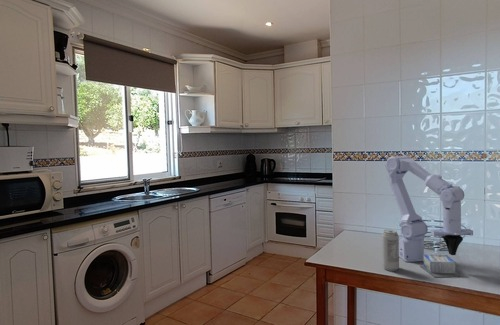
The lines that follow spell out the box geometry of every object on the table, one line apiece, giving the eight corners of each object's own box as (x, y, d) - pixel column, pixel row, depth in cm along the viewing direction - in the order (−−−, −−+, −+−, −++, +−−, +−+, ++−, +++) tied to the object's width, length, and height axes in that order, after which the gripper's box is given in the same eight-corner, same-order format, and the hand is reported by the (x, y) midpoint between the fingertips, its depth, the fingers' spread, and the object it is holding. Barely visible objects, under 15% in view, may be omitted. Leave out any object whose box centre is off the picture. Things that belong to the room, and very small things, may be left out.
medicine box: (455, 262, 119) (430, 261, 121) (455, 274, 119) (430, 272, 121) (447, 254, 127) (423, 254, 128) (447, 266, 127) (423, 265, 129)
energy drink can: (394, 265, 130) (394, 228, 130) (402, 271, 124) (401, 232, 124) (379, 266, 130) (379, 229, 129) (386, 272, 124) (386, 233, 123)
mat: (434, 277, 118) (434, 276, 118) (419, 266, 129) (419, 265, 128) (459, 276, 117) (459, 276, 117) (442, 265, 128) (442, 264, 128)
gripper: (438, 222, 118) (438, 258, 119) (478, 220, 117) (478, 257, 118) (428, 217, 125) (428, 252, 126) (466, 216, 124) (466, 251, 125)
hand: (452, 254), depth 122 cm, fingers closed
